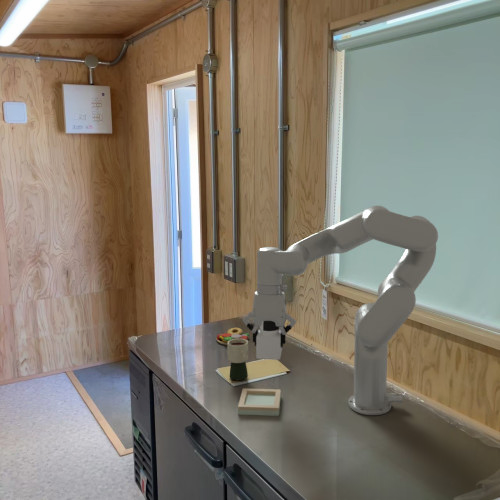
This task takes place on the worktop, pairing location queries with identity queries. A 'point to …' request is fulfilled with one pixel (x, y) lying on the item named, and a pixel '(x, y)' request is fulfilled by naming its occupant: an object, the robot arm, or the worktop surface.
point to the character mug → (238, 358)
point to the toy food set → (231, 335)
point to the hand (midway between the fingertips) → (269, 344)
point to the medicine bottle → (268, 341)
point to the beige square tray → (259, 402)
